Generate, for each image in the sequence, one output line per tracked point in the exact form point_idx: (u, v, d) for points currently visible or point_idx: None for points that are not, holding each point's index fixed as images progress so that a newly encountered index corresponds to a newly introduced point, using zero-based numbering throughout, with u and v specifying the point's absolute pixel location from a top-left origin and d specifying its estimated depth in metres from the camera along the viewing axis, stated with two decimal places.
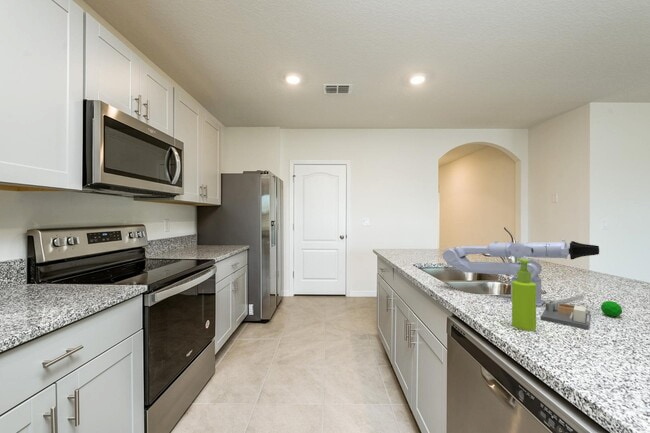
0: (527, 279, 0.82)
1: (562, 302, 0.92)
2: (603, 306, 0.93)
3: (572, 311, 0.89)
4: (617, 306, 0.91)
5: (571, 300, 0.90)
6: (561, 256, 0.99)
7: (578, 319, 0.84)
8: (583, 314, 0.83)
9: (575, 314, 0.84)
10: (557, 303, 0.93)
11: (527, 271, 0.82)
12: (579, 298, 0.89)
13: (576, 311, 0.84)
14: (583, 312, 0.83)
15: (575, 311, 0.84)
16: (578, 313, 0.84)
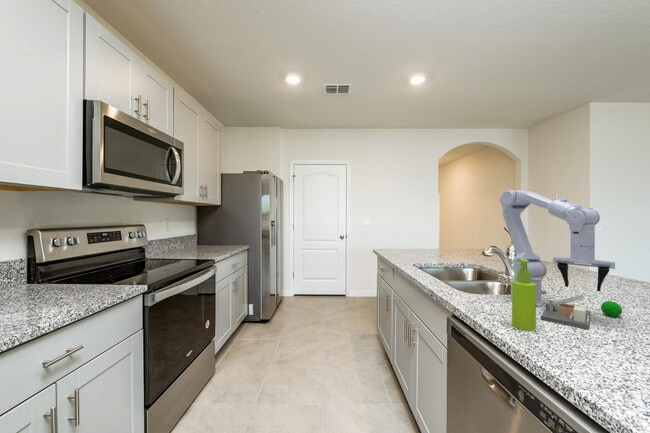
0: (527, 279, 0.82)
1: (562, 302, 0.92)
2: (603, 306, 0.93)
3: (572, 311, 0.89)
4: (617, 306, 0.91)
5: (571, 300, 0.90)
6: None
7: (578, 319, 0.84)
8: (583, 314, 0.83)
9: (575, 314, 0.84)
10: (557, 303, 0.93)
11: (527, 271, 0.82)
12: (579, 298, 0.89)
13: (576, 311, 0.84)
14: (583, 312, 0.83)
15: (575, 311, 0.84)
16: (578, 313, 0.84)
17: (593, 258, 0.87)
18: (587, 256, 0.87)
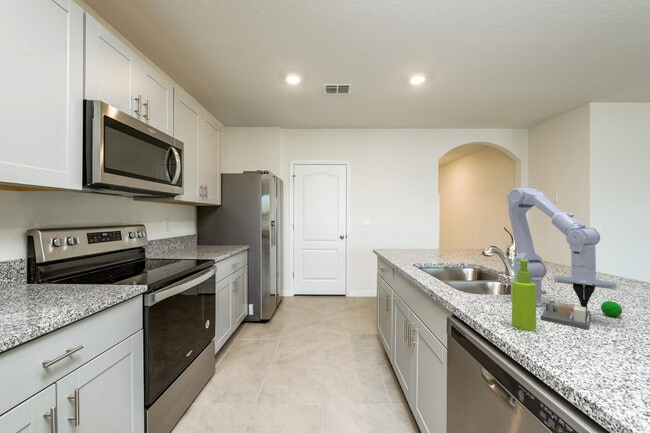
0: (527, 279, 0.82)
1: None
2: (603, 306, 0.93)
3: (572, 311, 0.89)
4: (617, 306, 0.91)
5: None
6: None
7: (578, 319, 0.84)
8: (583, 314, 0.83)
9: (575, 314, 0.84)
10: None
11: (527, 271, 0.82)
12: None
13: (576, 311, 0.84)
14: (583, 312, 0.83)
15: (575, 311, 0.84)
16: (578, 313, 0.84)
17: (594, 278, 0.87)
18: (588, 276, 0.87)
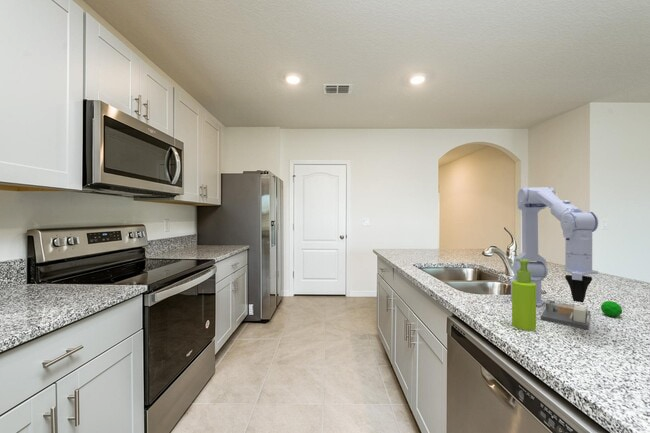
0: (527, 279, 0.82)
1: None
2: (603, 306, 0.93)
3: (572, 311, 0.89)
4: (617, 306, 0.91)
5: None
6: (568, 267, 0.81)
7: (578, 319, 0.84)
8: (583, 314, 0.83)
9: (575, 314, 0.84)
10: None
11: (527, 271, 0.82)
12: None
13: (576, 311, 0.84)
14: (583, 312, 0.83)
15: (575, 311, 0.84)
16: (578, 313, 0.84)
17: None
18: None
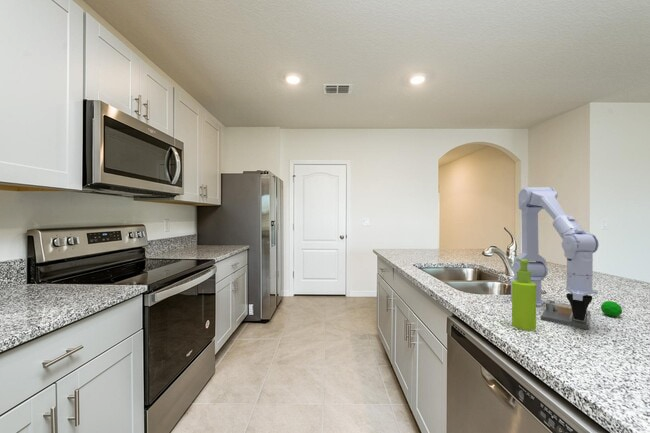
0: (527, 279, 0.82)
1: None
2: (603, 306, 0.93)
3: None
4: (617, 306, 0.91)
5: None
6: (569, 286, 0.84)
7: None
8: None
9: None
10: None
11: (527, 271, 0.82)
12: None
13: None
14: None
15: None
16: None
17: None
18: None
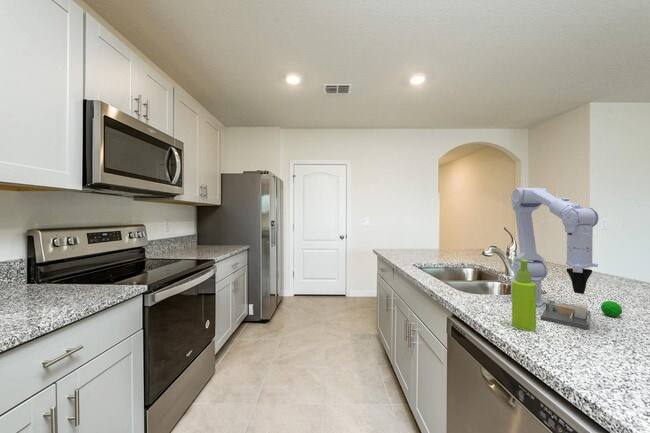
0: (527, 279, 0.82)
1: None
2: (603, 306, 0.93)
3: (572, 311, 0.89)
4: (617, 306, 0.91)
5: (574, 310, 0.90)
6: (569, 260, 0.85)
7: (579, 315, 0.87)
8: (584, 310, 0.86)
9: (576, 310, 0.88)
10: None
11: (527, 271, 0.82)
12: None
13: (577, 308, 0.87)
14: (584, 309, 0.86)
15: (576, 308, 0.88)
16: (578, 310, 0.87)
17: None
18: None
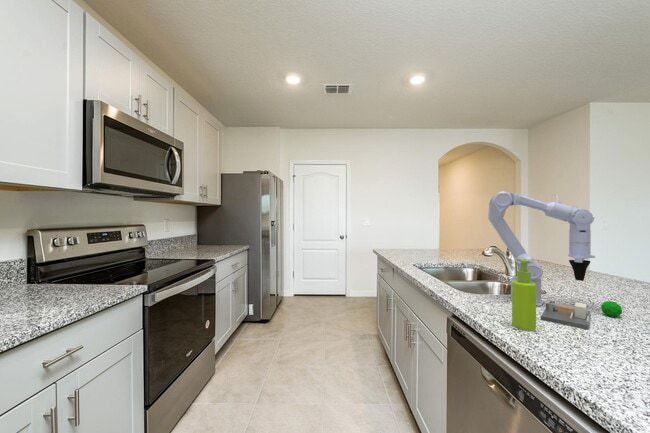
0: (527, 279, 0.82)
1: None
2: (603, 306, 0.93)
3: (572, 311, 0.89)
4: (617, 306, 0.91)
5: (574, 310, 0.90)
6: (571, 253, 1.01)
7: (579, 315, 0.87)
8: (584, 310, 0.86)
9: (576, 310, 0.88)
10: None
11: (527, 271, 0.82)
12: None
13: (577, 308, 0.87)
14: (584, 309, 0.86)
15: (576, 308, 0.88)
16: (578, 310, 0.87)
17: None
18: None
